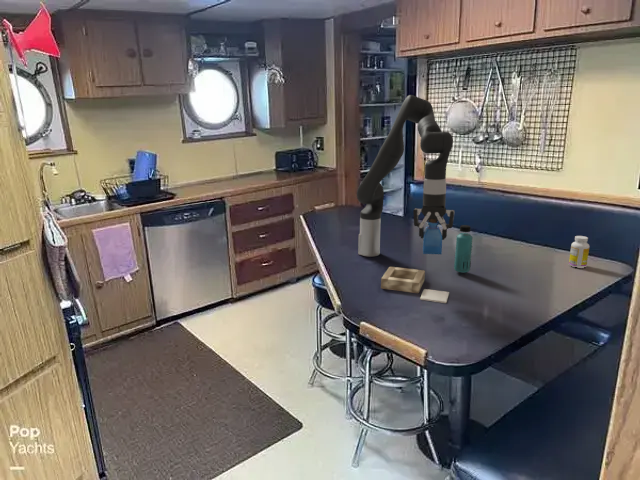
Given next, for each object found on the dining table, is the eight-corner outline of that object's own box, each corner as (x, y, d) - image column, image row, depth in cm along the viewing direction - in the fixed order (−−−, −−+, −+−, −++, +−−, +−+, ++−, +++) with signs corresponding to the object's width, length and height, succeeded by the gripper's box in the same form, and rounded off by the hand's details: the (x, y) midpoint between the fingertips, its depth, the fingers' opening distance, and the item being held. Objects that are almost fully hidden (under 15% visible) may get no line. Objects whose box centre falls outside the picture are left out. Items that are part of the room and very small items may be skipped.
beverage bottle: (461, 277, 184) (465, 228, 179) (449, 272, 190) (453, 224, 184) (473, 274, 187) (477, 226, 182) (461, 269, 193) (465, 223, 187)
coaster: (420, 299, 164) (420, 298, 163) (424, 290, 172) (424, 288, 171) (446, 303, 160) (446, 301, 160) (449, 293, 168) (449, 292, 168)
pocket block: (380, 288, 174) (381, 278, 173) (389, 275, 186) (389, 266, 185) (418, 293, 169) (419, 283, 168) (424, 280, 182) (425, 270, 180)
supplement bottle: (585, 265, 197) (590, 236, 193) (586, 270, 191) (591, 240, 188) (567, 263, 200) (572, 234, 196) (568, 267, 194) (573, 238, 190)
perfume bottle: (441, 254, 160) (443, 220, 157) (423, 253, 161) (424, 220, 158) (440, 249, 166) (442, 216, 163) (422, 248, 167) (424, 216, 164)
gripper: (411, 192, 157) (410, 240, 162) (455, 194, 152) (452, 242, 157) (415, 189, 164) (413, 234, 168) (457, 190, 159) (454, 237, 163)
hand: (432, 238), depth 162 cm, fingers closed on perfume bottle, 6 cm apart
